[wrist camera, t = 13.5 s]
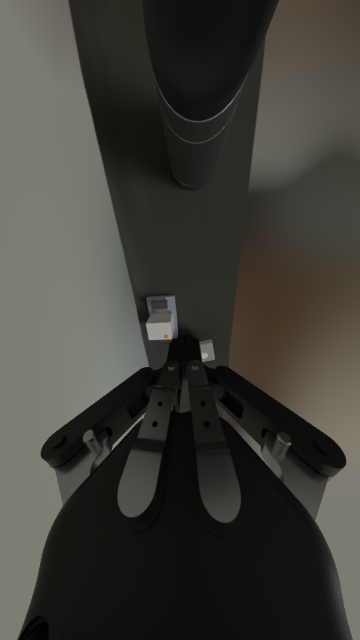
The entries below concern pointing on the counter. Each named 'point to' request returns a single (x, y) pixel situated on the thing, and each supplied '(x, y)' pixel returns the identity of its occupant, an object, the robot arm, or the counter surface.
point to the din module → (160, 326)
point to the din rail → (160, 310)
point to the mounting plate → (170, 308)
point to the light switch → (207, 350)
